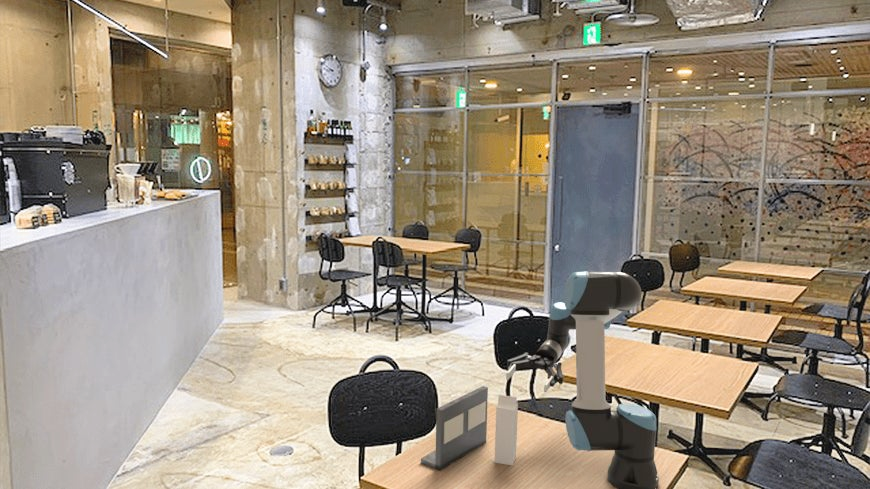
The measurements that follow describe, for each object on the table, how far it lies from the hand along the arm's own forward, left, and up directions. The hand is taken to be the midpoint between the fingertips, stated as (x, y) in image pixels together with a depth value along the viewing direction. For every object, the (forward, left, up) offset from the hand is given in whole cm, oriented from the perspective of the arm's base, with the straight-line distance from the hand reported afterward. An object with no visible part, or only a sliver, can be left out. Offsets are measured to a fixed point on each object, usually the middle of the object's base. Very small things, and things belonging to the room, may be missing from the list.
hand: (525, 382), depth 208 cm
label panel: (+7, +22, -24) cm, 33 cm away
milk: (-4, +9, -24) cm, 26 cm away
